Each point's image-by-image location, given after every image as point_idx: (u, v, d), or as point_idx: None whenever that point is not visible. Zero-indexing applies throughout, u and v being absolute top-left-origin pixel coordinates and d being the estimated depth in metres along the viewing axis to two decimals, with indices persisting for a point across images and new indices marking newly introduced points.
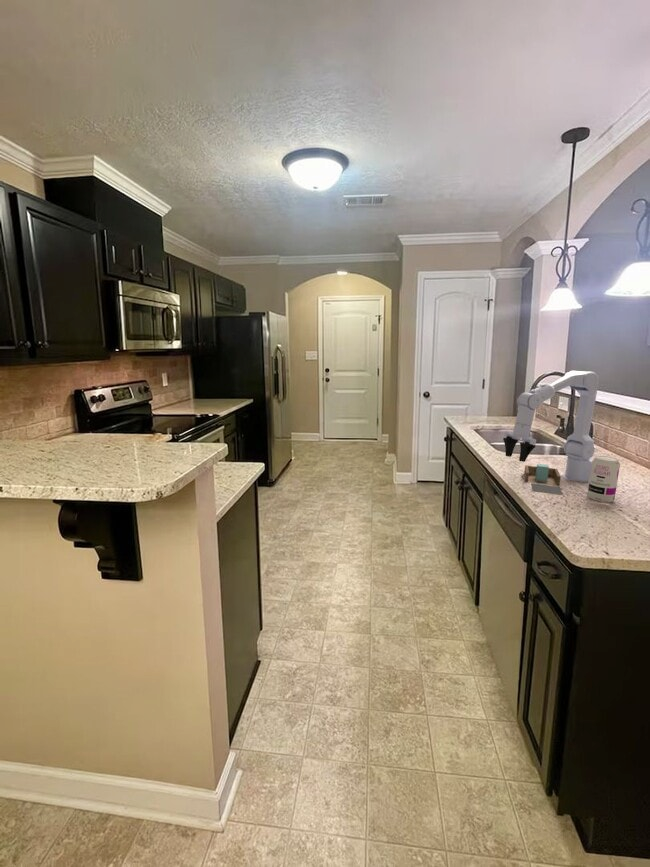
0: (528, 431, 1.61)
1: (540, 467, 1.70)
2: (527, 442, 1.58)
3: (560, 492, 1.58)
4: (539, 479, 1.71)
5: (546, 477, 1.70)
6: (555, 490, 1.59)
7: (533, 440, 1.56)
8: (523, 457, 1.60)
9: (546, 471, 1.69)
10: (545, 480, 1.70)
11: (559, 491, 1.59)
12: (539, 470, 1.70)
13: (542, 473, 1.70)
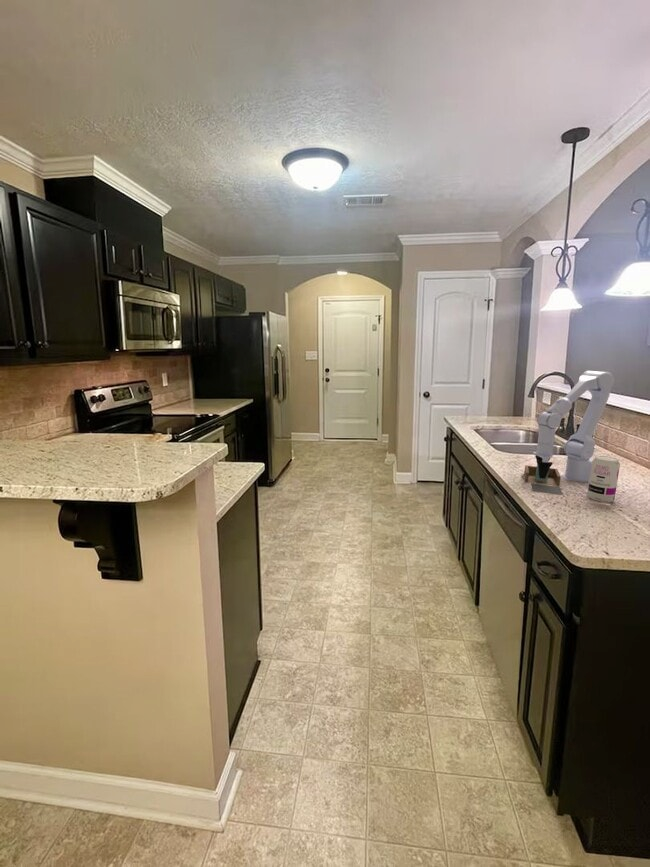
0: (547, 449, 1.67)
1: None
2: None
3: (560, 492, 1.58)
4: (539, 479, 1.71)
5: (546, 477, 1.70)
6: (555, 490, 1.59)
7: (544, 458, 1.64)
8: (542, 474, 1.68)
9: None
10: (545, 480, 1.70)
11: (559, 491, 1.59)
12: None
13: None
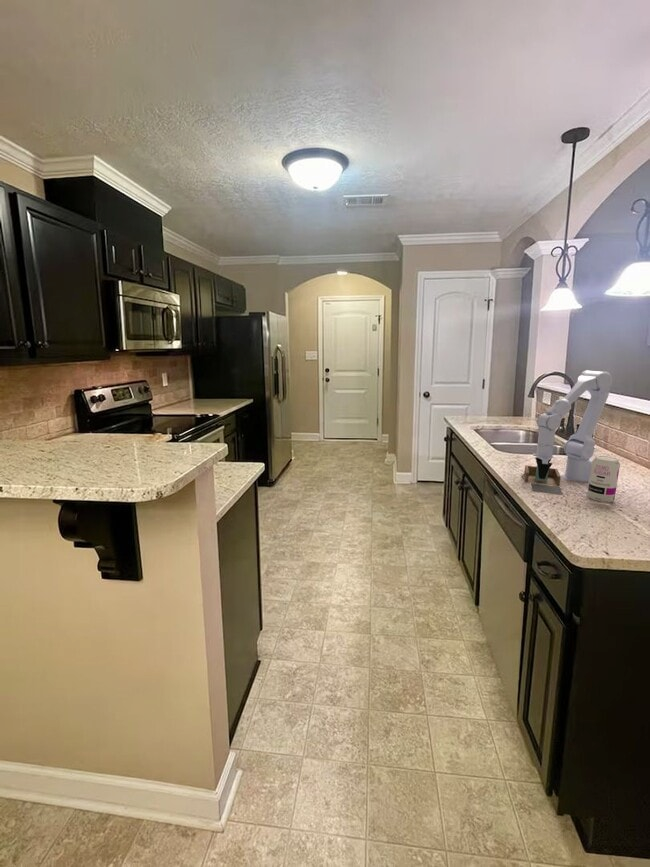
0: (547, 451, 1.67)
1: None
2: (542, 461, 1.66)
3: (560, 492, 1.58)
4: (539, 479, 1.71)
5: (546, 477, 1.70)
6: (555, 490, 1.59)
7: (544, 460, 1.64)
8: (542, 474, 1.69)
9: None
10: (545, 480, 1.70)
11: (559, 491, 1.59)
12: None
13: None
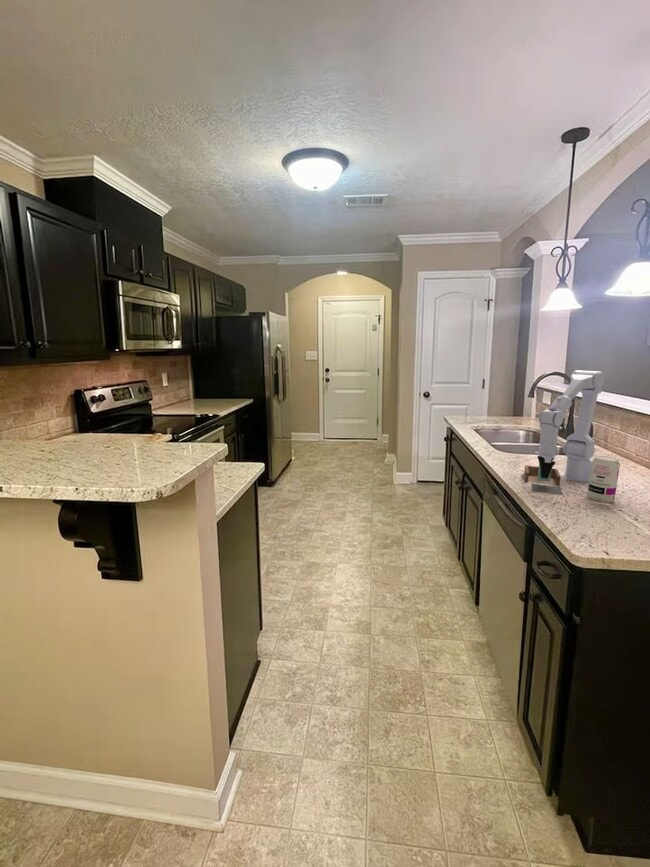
0: (550, 449, 1.59)
1: None
2: (545, 460, 1.58)
3: (560, 492, 1.58)
4: (541, 479, 1.63)
5: (549, 477, 1.62)
6: (555, 490, 1.59)
7: (547, 458, 1.56)
8: (545, 474, 1.61)
9: None
10: (548, 480, 1.62)
11: (559, 491, 1.59)
12: None
13: None
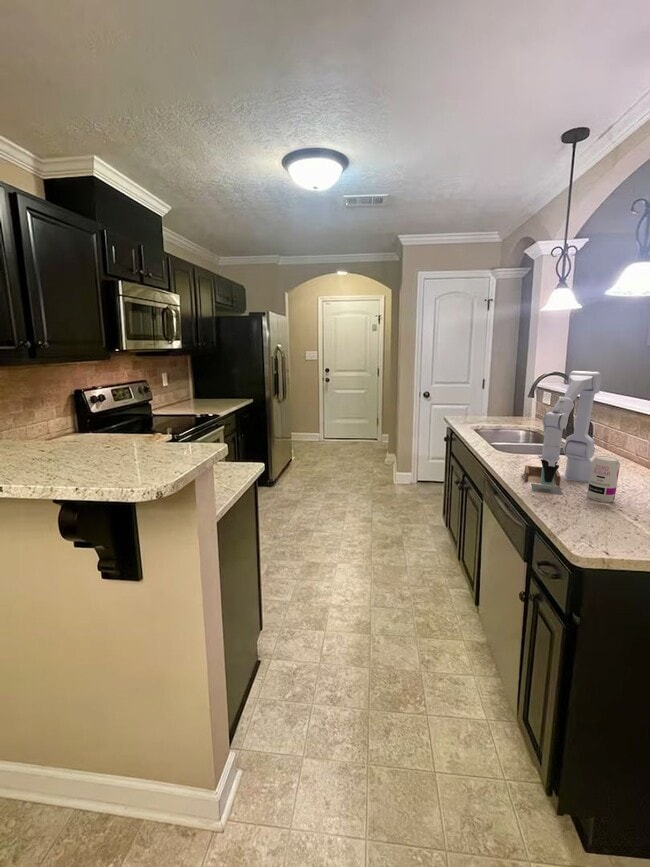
0: (553, 452, 1.56)
1: None
2: (548, 464, 1.55)
3: (560, 492, 1.58)
4: (544, 483, 1.59)
5: (552, 481, 1.58)
6: (555, 490, 1.59)
7: (551, 462, 1.52)
8: (548, 478, 1.58)
9: None
10: (551, 484, 1.58)
11: (559, 491, 1.59)
12: None
13: None
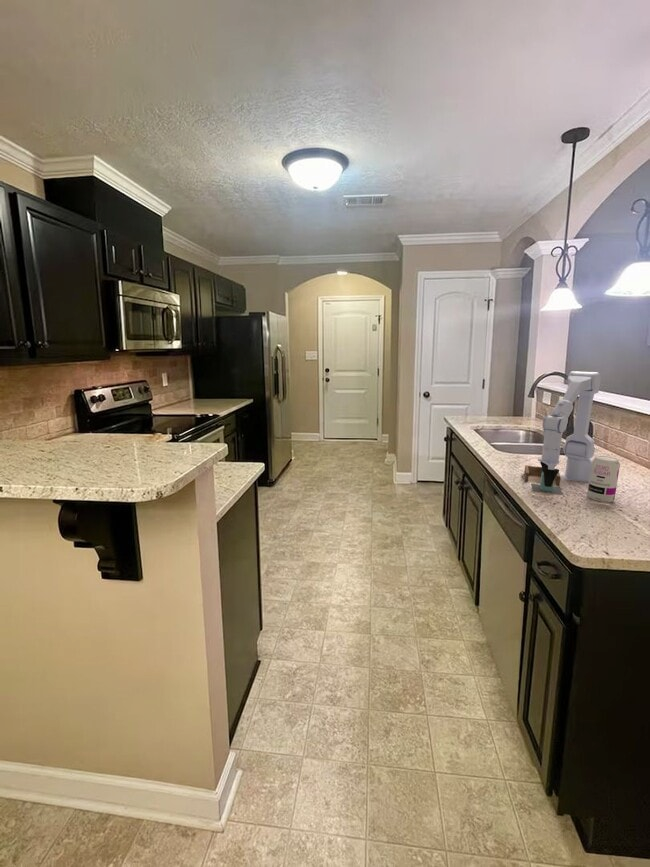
0: (553, 455, 1.56)
1: None
2: (548, 467, 1.55)
3: (560, 492, 1.58)
4: (544, 488, 1.60)
5: (551, 486, 1.59)
6: (555, 490, 1.59)
7: (550, 465, 1.53)
8: (548, 482, 1.57)
9: None
10: (550, 489, 1.59)
11: (559, 491, 1.59)
12: None
13: None
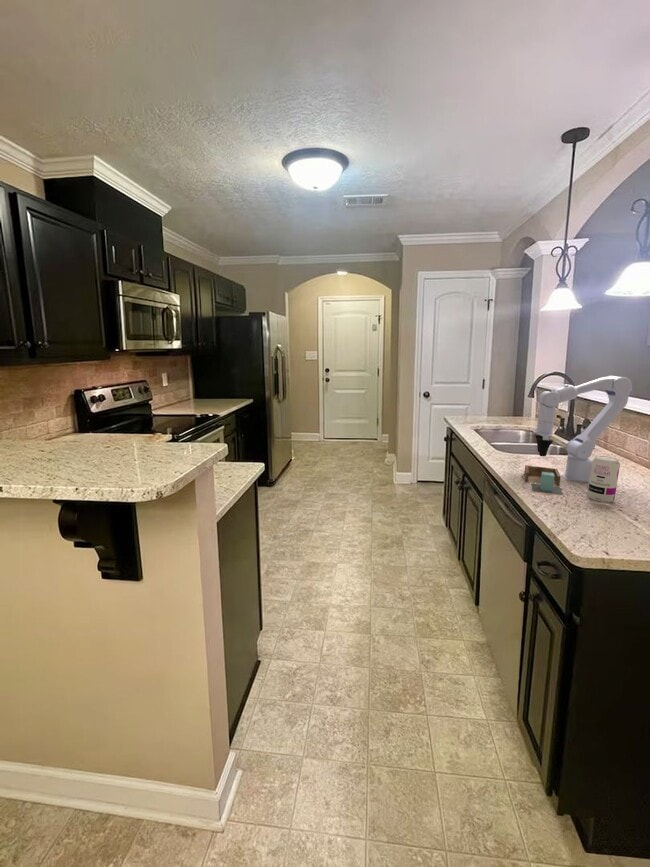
0: (547, 427, 1.71)
1: (545, 475, 1.59)
2: (542, 438, 1.70)
3: (560, 492, 1.58)
4: (544, 488, 1.60)
5: (551, 486, 1.59)
6: (555, 490, 1.59)
7: (545, 436, 1.67)
8: (543, 452, 1.71)
9: (551, 480, 1.58)
10: (550, 489, 1.59)
11: (559, 491, 1.59)
12: (544, 479, 1.59)
13: (547, 482, 1.59)
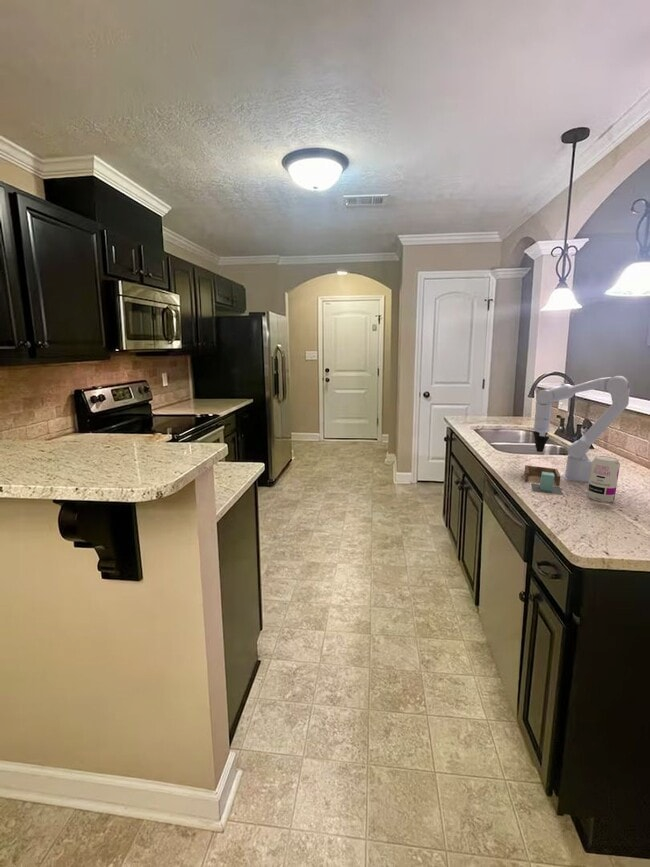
0: (544, 424, 1.78)
1: (545, 475, 1.59)
2: (539, 434, 1.77)
3: (560, 492, 1.58)
4: (544, 488, 1.60)
5: (551, 486, 1.59)
6: (555, 490, 1.59)
7: (541, 432, 1.75)
8: (540, 448, 1.78)
9: (551, 480, 1.58)
10: (550, 489, 1.59)
11: (559, 491, 1.59)
12: (544, 479, 1.59)
13: (547, 482, 1.59)
